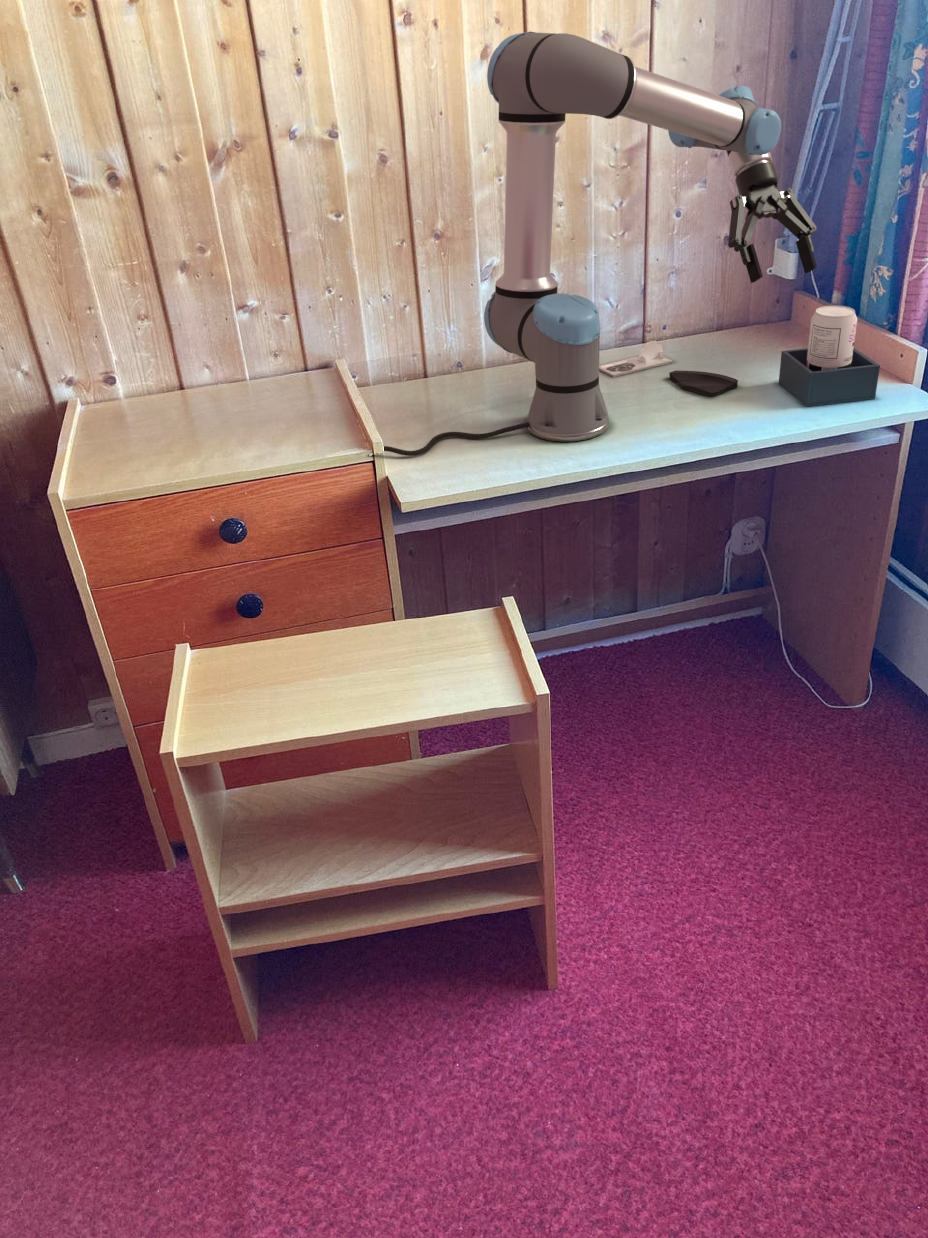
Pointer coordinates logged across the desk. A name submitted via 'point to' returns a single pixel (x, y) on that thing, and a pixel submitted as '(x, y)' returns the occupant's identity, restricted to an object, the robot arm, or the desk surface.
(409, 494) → the desk surface
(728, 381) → the fan shaped piece
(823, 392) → the bin
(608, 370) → the white plate with bracket
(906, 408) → the desk surface
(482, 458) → the desk surface
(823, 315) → the supplement can
